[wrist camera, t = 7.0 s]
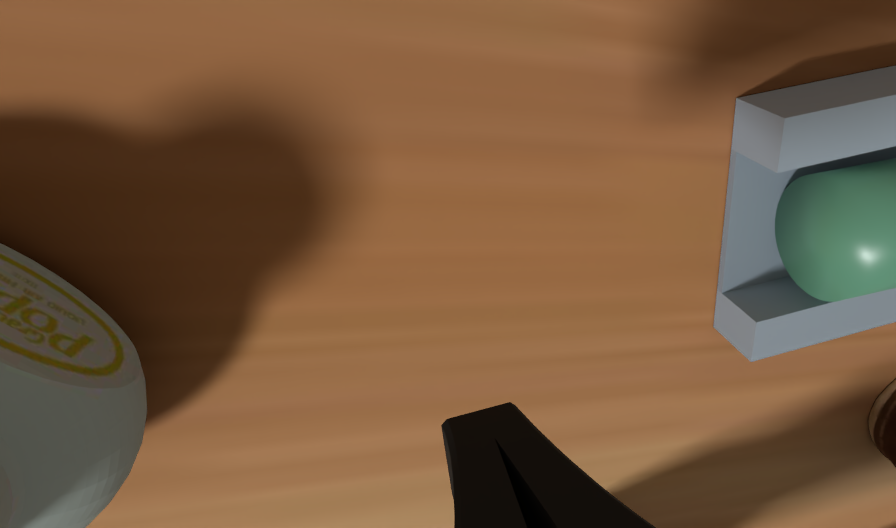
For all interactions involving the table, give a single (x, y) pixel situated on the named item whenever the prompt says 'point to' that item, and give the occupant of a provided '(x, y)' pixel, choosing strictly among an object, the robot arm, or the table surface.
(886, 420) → the coffee cup
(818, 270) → the bottle
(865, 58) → the table surface
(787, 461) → the table surface
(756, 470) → the table surface
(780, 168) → the cradle
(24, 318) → the air freshener
